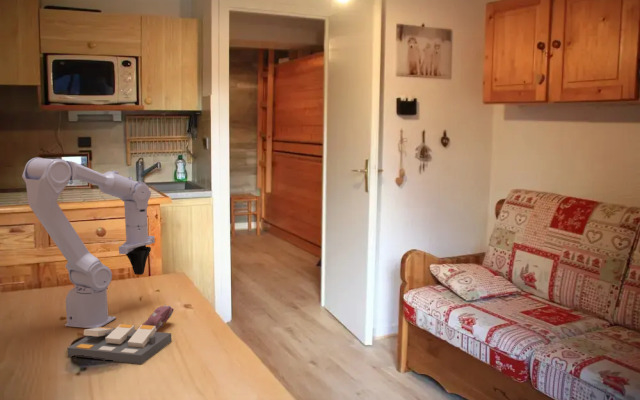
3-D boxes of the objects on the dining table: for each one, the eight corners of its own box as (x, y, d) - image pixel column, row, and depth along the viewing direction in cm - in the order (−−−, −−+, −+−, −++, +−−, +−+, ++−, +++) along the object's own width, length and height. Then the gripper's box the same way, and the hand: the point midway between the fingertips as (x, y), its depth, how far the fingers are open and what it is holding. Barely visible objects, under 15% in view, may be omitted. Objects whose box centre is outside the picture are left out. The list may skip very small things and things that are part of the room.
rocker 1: (83, 335, 128) (84, 329, 128) (99, 332, 133) (100, 326, 133) (97, 336, 127) (98, 330, 127) (113, 333, 132) (114, 328, 133)
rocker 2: (106, 342, 127) (105, 337, 126) (121, 328, 132) (120, 323, 132) (120, 344, 126) (119, 338, 125) (135, 329, 131) (134, 325, 131)
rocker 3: (128, 346, 125) (127, 341, 125) (142, 328, 131) (141, 324, 130) (143, 347, 125) (142, 342, 124) (156, 330, 130) (155, 325, 129)
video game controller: (150, 343, 136) (161, 319, 135) (134, 334, 137) (145, 309, 135) (168, 328, 146) (179, 305, 145) (153, 319, 146) (164, 297, 145)
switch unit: (67, 356, 125) (66, 341, 125) (103, 334, 138) (102, 320, 137) (141, 364, 121) (140, 348, 120) (171, 341, 133) (170, 327, 133)
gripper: (134, 230, 147) (137, 282, 149) (163, 221, 161) (165, 268, 163) (110, 229, 148) (113, 280, 150) (141, 220, 162) (143, 266, 164)
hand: (139, 274), depth 157 cm, fingers closed
